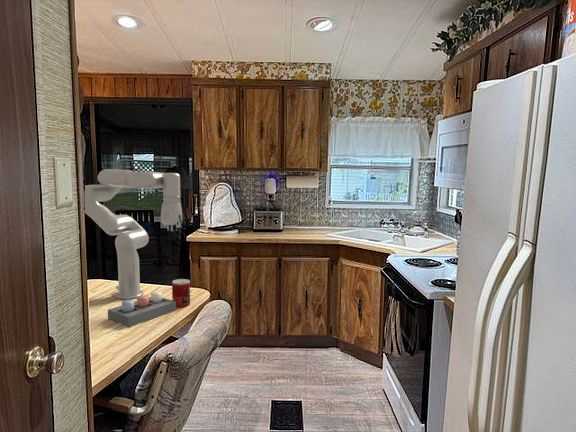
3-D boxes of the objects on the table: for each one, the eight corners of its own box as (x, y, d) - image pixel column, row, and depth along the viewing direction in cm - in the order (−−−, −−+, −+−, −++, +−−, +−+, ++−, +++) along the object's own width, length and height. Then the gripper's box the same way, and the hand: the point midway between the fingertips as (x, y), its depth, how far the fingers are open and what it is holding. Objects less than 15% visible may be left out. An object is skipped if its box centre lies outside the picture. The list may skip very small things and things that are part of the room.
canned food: (185, 308, 170) (185, 284, 169) (169, 306, 171) (168, 282, 170) (193, 302, 177) (193, 279, 176) (177, 301, 179) (177, 278, 178)
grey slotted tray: (107, 319, 155) (107, 309, 155) (155, 304, 174) (155, 295, 174) (128, 327, 148) (128, 317, 147) (176, 310, 167) (175, 301, 166)
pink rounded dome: (134, 307, 160) (134, 297, 160) (144, 304, 164) (144, 294, 163) (141, 310, 157) (141, 299, 157) (151, 307, 161) (150, 296, 161)
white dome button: (149, 303, 166) (148, 293, 165) (157, 300, 170) (157, 290, 169) (155, 305, 163) (155, 295, 163) (164, 302, 167) (164, 292, 167)
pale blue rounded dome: (119, 312, 154) (119, 301, 154) (129, 309, 158) (129, 299, 158) (126, 315, 152) (126, 304, 151) (136, 311, 155) (136, 301, 155)
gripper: (154, 199, 176) (155, 238, 178) (176, 201, 168) (176, 242, 170) (167, 198, 183) (168, 236, 185) (189, 200, 175) (189, 240, 176)
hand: (172, 239), depth 177 cm, fingers closed
